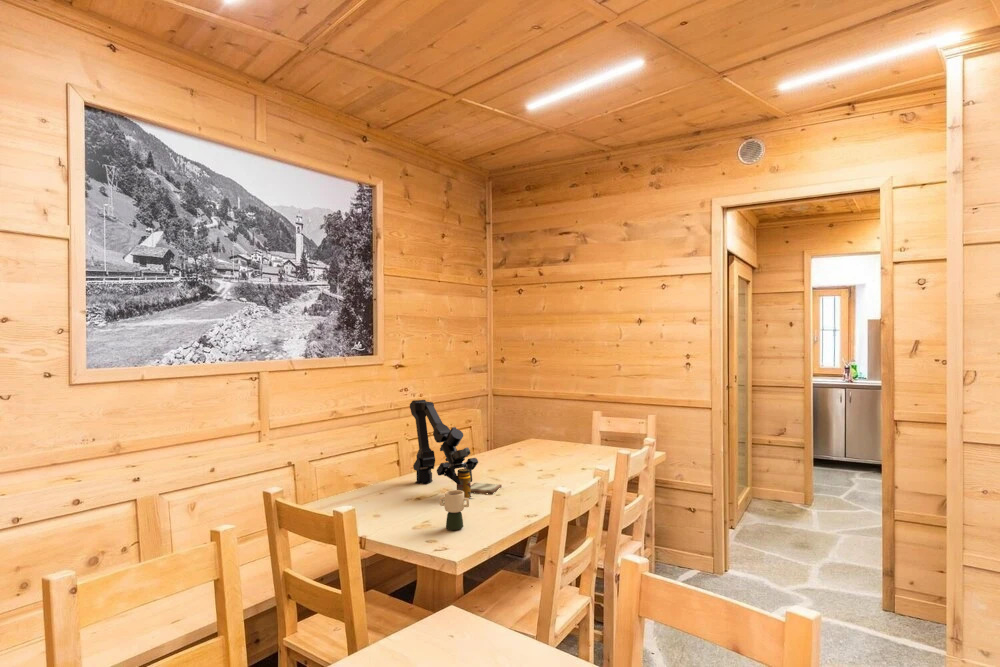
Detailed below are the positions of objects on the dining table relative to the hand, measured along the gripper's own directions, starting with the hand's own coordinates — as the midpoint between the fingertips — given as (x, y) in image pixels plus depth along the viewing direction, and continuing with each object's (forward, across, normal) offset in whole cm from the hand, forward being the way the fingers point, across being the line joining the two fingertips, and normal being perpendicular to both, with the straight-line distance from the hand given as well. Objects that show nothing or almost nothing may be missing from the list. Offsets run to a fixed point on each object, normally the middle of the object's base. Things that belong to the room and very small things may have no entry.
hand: (465, 482), depth 245 cm
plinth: (0, +14, +10) cm, 17 cm away
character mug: (+27, -25, -17) cm, 40 cm away
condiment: (+4, -1, +6) cm, 7 cm away
